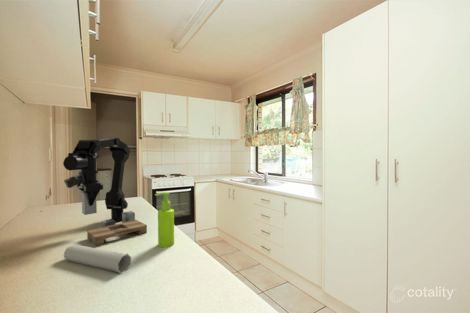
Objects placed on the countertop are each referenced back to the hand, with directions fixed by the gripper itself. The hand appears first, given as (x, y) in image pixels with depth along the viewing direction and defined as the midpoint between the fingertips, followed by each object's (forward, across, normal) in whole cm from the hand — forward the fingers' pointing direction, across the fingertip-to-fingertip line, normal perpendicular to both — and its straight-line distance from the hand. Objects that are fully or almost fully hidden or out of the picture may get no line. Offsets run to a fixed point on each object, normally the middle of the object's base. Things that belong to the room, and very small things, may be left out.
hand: (89, 204), depth 98 cm
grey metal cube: (+13, -2, +8) cm, 15 cm away
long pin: (+4, 0, 0) cm, 4 cm away
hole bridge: (+13, +10, +8) cm, 18 cm away
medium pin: (+13, -2, +17) cm, 21 cm away
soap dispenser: (+13, +33, +17) cm, 40 cm away
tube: (+14, +31, -6) cm, 35 cm away
